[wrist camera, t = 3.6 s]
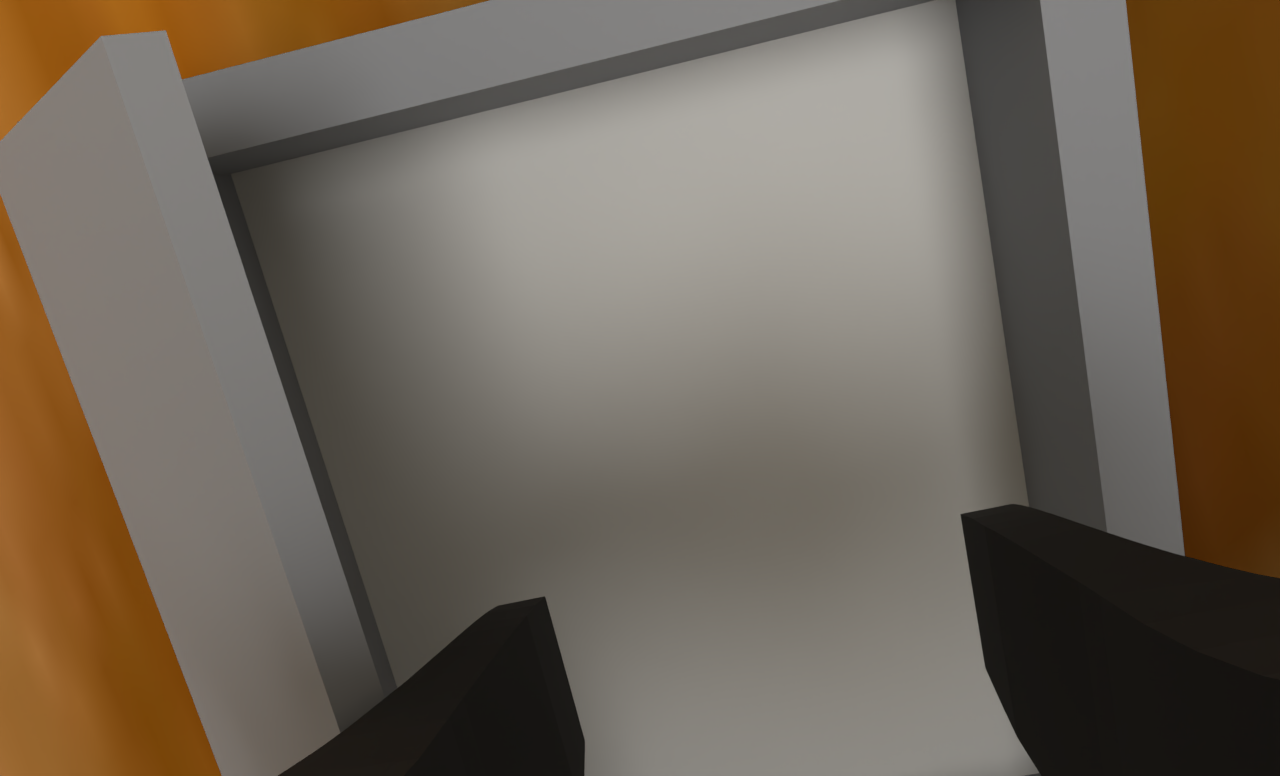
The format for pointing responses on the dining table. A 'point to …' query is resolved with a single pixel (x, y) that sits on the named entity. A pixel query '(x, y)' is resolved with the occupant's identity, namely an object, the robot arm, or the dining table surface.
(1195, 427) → the dining table surface
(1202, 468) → the dining table surface
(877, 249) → the gray open box
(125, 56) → the carton flap
